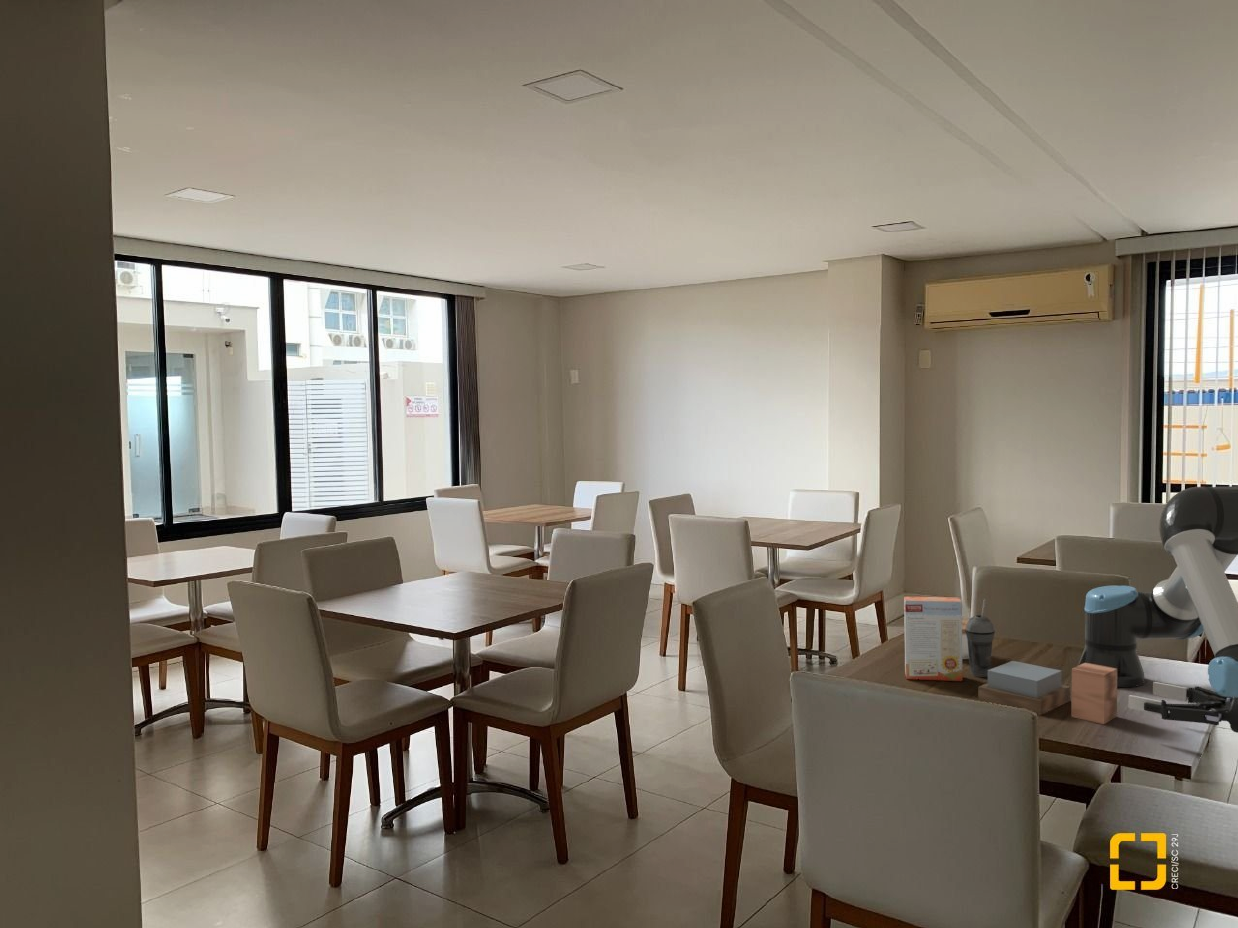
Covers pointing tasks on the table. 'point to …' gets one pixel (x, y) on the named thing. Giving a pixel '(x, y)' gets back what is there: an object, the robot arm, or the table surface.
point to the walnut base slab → (1025, 698)
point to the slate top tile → (1025, 679)
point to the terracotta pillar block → (1094, 693)
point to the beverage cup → (979, 643)
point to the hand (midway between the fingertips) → (1141, 694)
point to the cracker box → (933, 638)
